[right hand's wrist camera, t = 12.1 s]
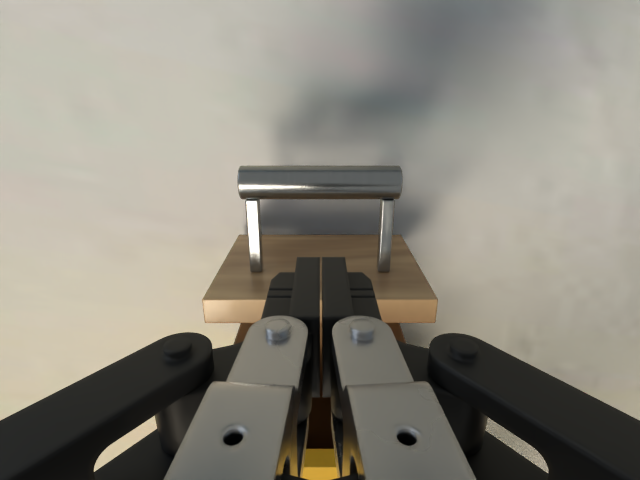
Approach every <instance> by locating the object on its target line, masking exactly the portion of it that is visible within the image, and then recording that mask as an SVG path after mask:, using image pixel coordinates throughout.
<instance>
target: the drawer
mask: <svg viewBox="0 0 640 480" xmlns="http://www.w3.org/2000/svg"><path fill="white" fill-rule="evenodd" d="M238 192H239V196H240V198H241V199H246V201H245V203H246V217H247V231H248V235H239V236H238V238H237V239H236V241H235V243H234V245H233V247H232V248H231V250H230V252H229V254H228V255H227V257H226V259H225V261H224V262H223V264H222V266H221V268H220V269H219V271H218V273H217V275H216V276H215V278H214V280H213V282H212V284H211V285H210V287H209V289H208V291H207V292H206V294H205V296H204V298H203V299H202V302H203V310H204V318H205V323H241V324H240V327H239V330H238V333H237V336H236V339H235V342H234V344H237V343H240V342H242V341H244V339H245V336H246V334H247V332H248V330H249V328H250V327H251V326H252V325H253V324H254V323H255V322H257V321H259V320H261V317H262V313H263V309H264V305H265V302H266V298H267V294H268V290H269V286H270V282H271V279H273V278H274V277H275V276H276V275H277V274H278V273H280V272H295V268H296V260H297V257H320V397H312V407H311V412H310V414H309V429H308V437H307V445H306V449H334V445H333V437H332V429H331V397H323V386H322V257H345V260H346V267H347V272H363V273H364V274H365V275H366V276H367V277H368V278H370V279H371V282H372V286H373V290H374V293H375V298H376V300H377V304H378V308H379V311H380V315H381V319H382V321H383V322H385V323H386V324H387V325H388V326H389V327H390V328H391V330H392V332H393V334H394V336H395V339H397V340H399V341H401V342H403V343H406V341H405V338H404V335H403V332H402V329H401V327H400V324H399V323H435V320H436V311H437V303H438V299H437V297H436V295H435V294H434V292H433V290H432V288H431V287H430V285H429V283H428V281H427V280H426V278H425V276H424V274H423V273H422V271H421V269H420V267H419V266H418V264H417V262H416V260H415V259H414V257H413V255H412V253H411V252H410V250H409V248H408V246H407V245H406V243H405V241H404V239H403V238H402V236H401V235H392V232H393V218H394V203H395V201H394V199H399V198H400V196H401V192H402V170H401V167H400V166H240V167H239V170H238ZM260 199H380V216H379V234H378V235H262V232H261V215H260Z"/></svg>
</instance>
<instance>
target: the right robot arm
mask: <svg viewBox="0 0 640 480" xmlns="http://www.w3.org/2000/svg"><path fill="white" fill-rule="evenodd" d="M322 386H323V397H331V429H332V437H333V445H334V453H335V461H336V469H337V476H338V478H336V479H332V480H640V421H639V420H637V419H635V418H633V417H631V416H629V415H627V414H625V413H623V412H622V411H620V410H618V409H616V408H614V407H612V406H610V405H608V404H606V403H604V402H602V401H600V400H598V399H596V398H594V397H592V396H590V395H588V394H586V393H584V392H582V391H580V390H578V389H576V388H574V387H572V386H570V385H568V384H566V383H565V382H563V381H561V380H559V379H557V378H555V377H553V376H551V375H549V374H547V373H545V372H543V371H541V370H539V369H537V368H535V367H533V366H531V365H529V364H527V363H525V362H523V361H521V360H519V359H517V358H515V357H513V356H511V355H510V354H508V353H506V352H504V351H502V350H500V349H498V348H496V347H494V346H492V345H490V344H488V343H486V342H484V341H482V340H480V339H478V338H475V337H472V336H469V335H465V334H458V333H448V334H442V335H439V336H437V337H435V338H434V339H433V340H432V341H431V343H430V347H429V349H427V348H423V347H418V346H413V345H409V344H406V343H403V342H401V341H399V340H397V339H395V336H394V334H393V332H392V330H391V328H390V327H389V326H388V325H387V324H386V323H385V322H383V321H382V319H381V315H380V311H379V308H378V304H377V300H376V298H375V293H374V290H373V286H372V282H371V279H370V278H368V277H367V276H366V275H365V274H364V273H363V272H347V267H346V260H345V257H322ZM312 397H320V257H297V260H296V268H295V272H280V273H278V274H277V275H276V276H275V277H274V278H273V279H271V282H270V286H269V290H268V294H267V298H266V302H265V305H264V309H263V313H262V317H261V320H259V321H257V322H255V323H254V324H253V325H252V326H251V327H250V328H249V330H248V332H247V334H246V336H245V339H244V341H242V342H240V343H237V344H234V345H230V346H226V347H221V348H216V349H212V343H211V341H210V340H209V339H208V338H207V337H206V336H204V335H202V334H198V333H189V332H187V333H178V334H173V335H170V336H167V337H164V338H162V339H160V340H158V341H156V342H154V343H152V344H150V345H148V346H146V347H144V348H142V349H140V350H138V351H136V352H134V353H132V354H131V355H129V356H127V357H125V358H123V359H121V360H119V361H117V362H115V363H113V364H111V365H109V366H107V367H105V368H103V369H101V370H99V371H97V372H95V373H93V374H91V375H89V376H87V377H85V378H83V379H81V380H79V381H77V382H75V383H74V384H72V385H70V386H68V387H66V388H64V389H62V390H60V391H58V392H56V393H54V394H52V395H50V396H48V397H46V398H44V399H42V400H40V401H38V402H36V403H34V404H32V405H30V406H28V407H26V408H24V409H22V410H20V411H19V412H17V413H15V414H13V415H11V416H9V417H7V418H5V419H3V420H1V421H0V480H308V479H304V478H302V476H303V469H304V461H305V453H306V445H307V437H308V429H309V414H310V412H311V407H312ZM154 415H155V419H156V424H157V429H156V430H155V431H153V432H152V433H150V434H149V435H147V436H146V437H145V438H143V439H142V440H140V441H139V442H137V443H136V444H134V445H133V446H132V447H130V448H129V449H127V450H126V451H124V452H123V453H121V454H120V455H118V456H117V457H116V458H114V459H113V460H111V461H110V462H108V463H107V464H105V465H104V466H102V467H101V468H100V469H98V470H97V471H95V472H94V465H95V463H96V460H97V459H98V457H99V455H100V454H101V453H102V452H103V451H104V449H106V448H107V447H108V446H109V445H110V444H112V443H113V442H115V441H116V440H118V439H119V438H121V437H122V436H124V435H126V434H127V433H129V432H130V431H132V430H133V429H135V428H136V427H138V426H139V425H141V424H142V423H144V422H145V421H147V420H148V419H150V418H151V417H153V416H154ZM488 417H489V418H490V419H492V420H493V421H495V422H496V423H498V424H499V425H501V426H502V427H504V428H505V429H507V430H508V431H510V432H511V433H513V434H515V435H516V436H518V437H519V438H521V439H522V440H524V441H525V442H527V443H528V444H530V445H531V446H533V447H534V448H535V449H536V450H537V451H538V452H539V453H540V454H541V455H542V457H543V458H544V459H545V461H546V463H547V466H548V469H549V474H548V473H546V472H545V471H543V470H542V469H540V468H539V467H538V466H536V465H535V464H533V463H532V462H530V461H529V460H527V459H526V458H524V457H523V456H522V455H520V454H519V453H517V452H516V451H514V450H513V449H511V448H510V447H508V446H507V445H506V444H504V443H503V442H501V441H500V440H498V439H497V438H495V437H494V436H493V435H491V434H490V433H488V432H487V431H485V429H486V424H487V419H488Z"/></svg>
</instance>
